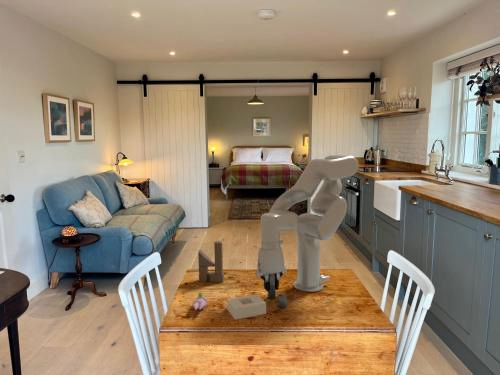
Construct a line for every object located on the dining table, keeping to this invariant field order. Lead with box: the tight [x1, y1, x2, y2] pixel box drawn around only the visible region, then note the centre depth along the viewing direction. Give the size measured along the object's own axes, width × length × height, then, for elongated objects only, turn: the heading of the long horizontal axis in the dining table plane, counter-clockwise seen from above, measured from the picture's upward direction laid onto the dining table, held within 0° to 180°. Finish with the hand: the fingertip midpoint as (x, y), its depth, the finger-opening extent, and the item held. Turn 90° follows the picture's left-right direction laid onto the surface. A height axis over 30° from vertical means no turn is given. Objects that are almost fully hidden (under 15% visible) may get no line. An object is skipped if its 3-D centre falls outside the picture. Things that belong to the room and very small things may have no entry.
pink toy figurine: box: [192, 291, 210, 311], centre depth 142 cm, size 6×6×15 cm
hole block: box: [226, 293, 267, 320], centre depth 138 cm, size 12×9×4 cm
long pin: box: [267, 273, 277, 300], centre depth 150 cm, size 3×3×11 cm
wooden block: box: [197, 240, 225, 283], centre depth 168 cm, size 4×11×18 cm, turn 85°
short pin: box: [277, 293, 288, 310], centre depth 142 cm, size 3×3×4 cm
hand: (271, 289), depth 150 cm, fingers closed on long pin, 3 cm apart
